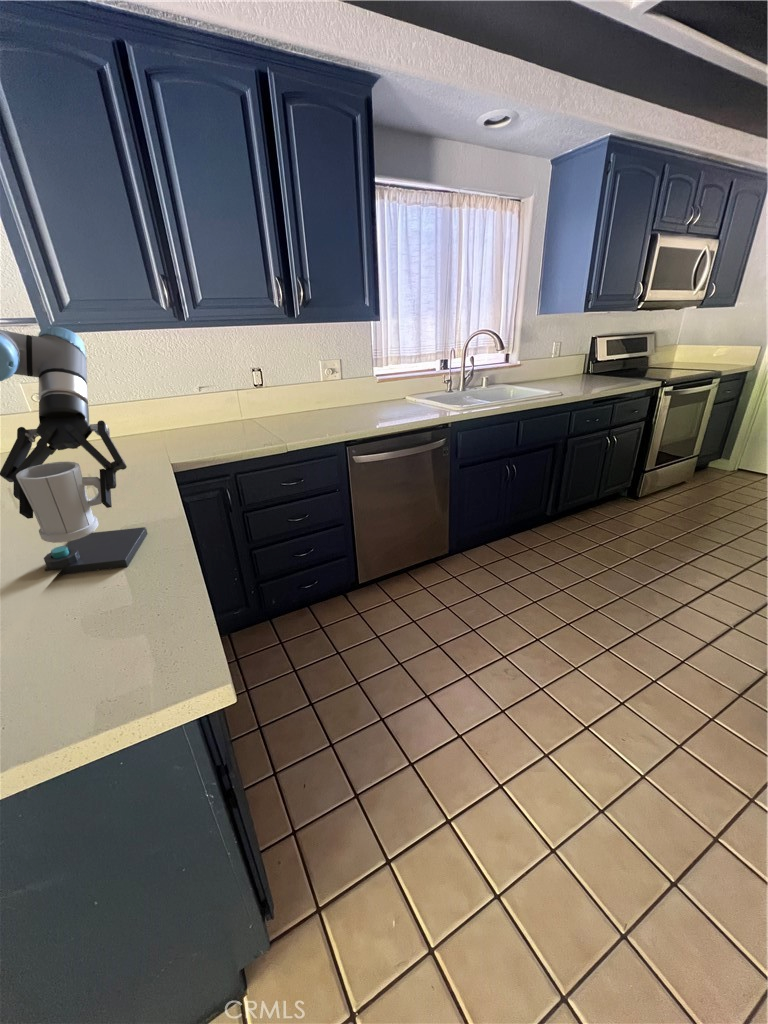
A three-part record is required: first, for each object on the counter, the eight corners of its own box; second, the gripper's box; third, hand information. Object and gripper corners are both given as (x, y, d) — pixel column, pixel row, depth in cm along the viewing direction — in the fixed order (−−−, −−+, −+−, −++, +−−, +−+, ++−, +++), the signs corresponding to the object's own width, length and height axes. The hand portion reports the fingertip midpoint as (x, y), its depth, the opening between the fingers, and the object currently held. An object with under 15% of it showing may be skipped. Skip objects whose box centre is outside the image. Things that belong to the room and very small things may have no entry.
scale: (44, 578, 86) (38, 563, 84) (77, 541, 99) (72, 528, 98) (127, 568, 89) (122, 553, 87) (147, 534, 102) (144, 520, 101)
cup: (87, 514, 84) (67, 456, 79) (119, 522, 81) (101, 462, 76) (29, 538, 75) (3, 474, 70) (63, 548, 72) (37, 482, 67)
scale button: (50, 560, 86) (47, 553, 85) (57, 553, 89) (54, 546, 88) (66, 558, 87) (63, 551, 86) (72, 551, 89) (69, 545, 88)
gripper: (139, 409, 87) (148, 507, 81) (0, 420, 80) (-2, 528, 74) (128, 386, 81) (136, 491, 74) (-26, 396, 74) (-31, 513, 67)
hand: (67, 510), depth 74 cm, fingers closed on cup, 11 cm apart
